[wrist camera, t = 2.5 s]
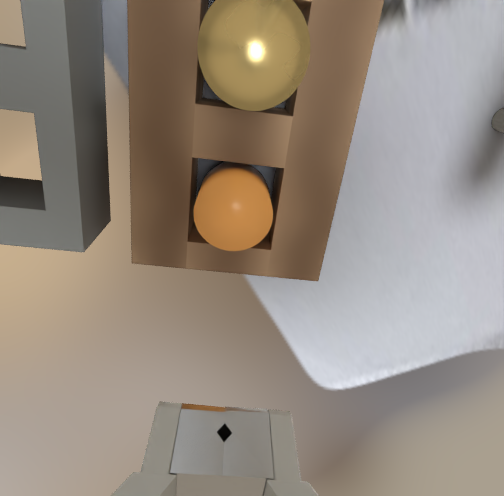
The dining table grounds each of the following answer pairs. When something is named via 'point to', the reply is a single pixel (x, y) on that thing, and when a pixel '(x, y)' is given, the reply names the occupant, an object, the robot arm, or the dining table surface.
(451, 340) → the dining table surface
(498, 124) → the mechanical component
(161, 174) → the socket base
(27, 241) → the rack
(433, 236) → the dining table surface
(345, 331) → the dining table surface
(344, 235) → the dining table surface
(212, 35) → the gold metal peg
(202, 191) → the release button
